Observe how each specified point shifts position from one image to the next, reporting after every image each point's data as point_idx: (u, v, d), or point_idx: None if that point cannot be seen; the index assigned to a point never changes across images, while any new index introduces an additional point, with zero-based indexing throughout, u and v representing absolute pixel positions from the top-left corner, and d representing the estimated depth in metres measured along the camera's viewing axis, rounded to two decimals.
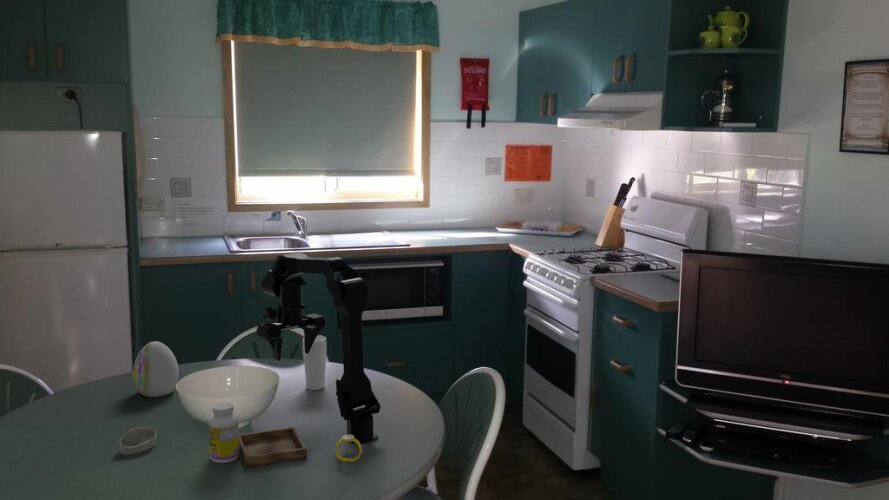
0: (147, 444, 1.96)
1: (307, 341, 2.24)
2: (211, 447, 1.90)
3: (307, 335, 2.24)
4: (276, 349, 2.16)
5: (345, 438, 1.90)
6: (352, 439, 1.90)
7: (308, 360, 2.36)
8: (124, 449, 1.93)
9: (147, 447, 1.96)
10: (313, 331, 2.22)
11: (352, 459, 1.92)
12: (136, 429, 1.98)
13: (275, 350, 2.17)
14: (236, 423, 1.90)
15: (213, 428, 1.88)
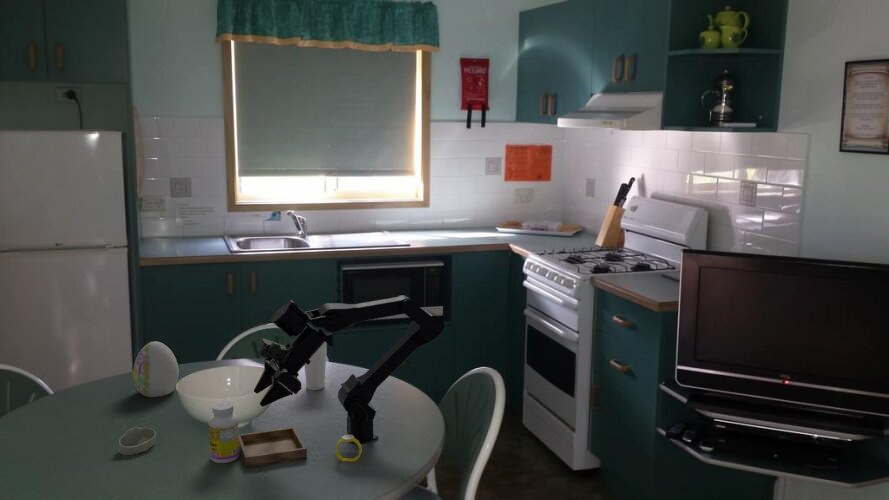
0: (147, 444, 1.96)
1: (265, 382, 1.98)
2: (211, 447, 1.90)
3: (268, 375, 1.99)
4: (276, 398, 1.89)
5: (345, 438, 1.90)
6: (352, 439, 1.90)
7: None
8: (124, 449, 1.93)
9: (147, 447, 1.96)
10: None
11: (352, 459, 1.92)
12: (135, 429, 1.98)
13: (272, 397, 1.89)
14: (236, 423, 1.90)
15: (213, 428, 1.88)
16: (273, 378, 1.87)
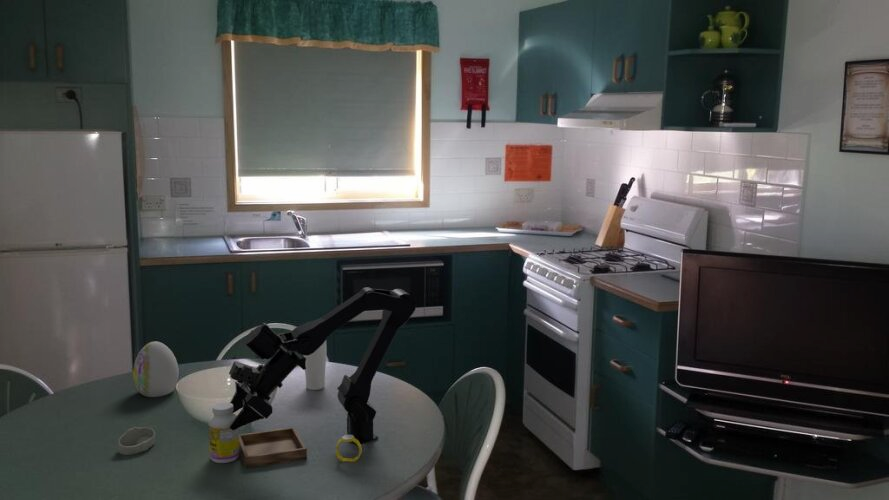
0: (146, 444, 1.96)
1: (237, 404, 1.96)
2: (211, 447, 1.90)
3: (239, 397, 1.97)
4: (246, 422, 1.87)
5: (345, 438, 1.90)
6: (352, 439, 1.90)
7: (308, 360, 2.36)
8: (123, 449, 1.94)
9: (146, 447, 1.96)
10: None
11: (352, 459, 1.92)
12: (135, 429, 1.98)
13: (242, 421, 1.87)
14: None
15: (213, 428, 1.88)
16: (244, 402, 1.85)
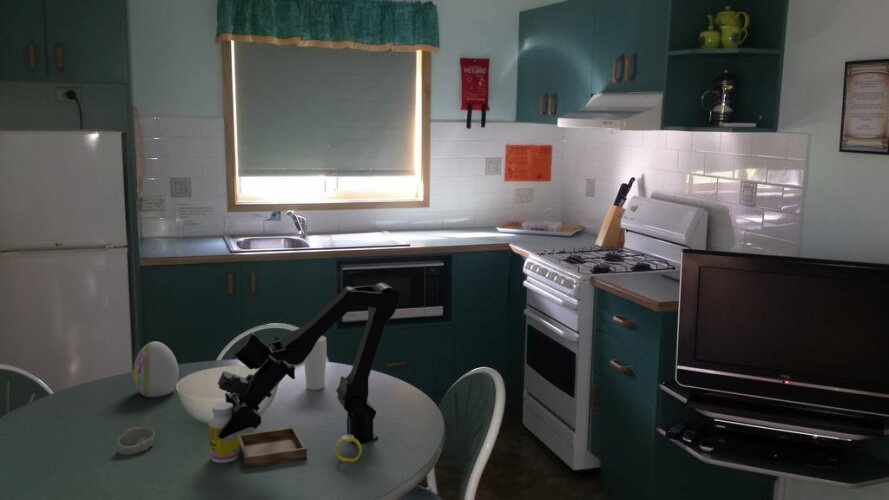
0: (146, 443, 1.96)
1: None
2: (211, 447, 1.90)
3: None
4: (234, 430, 1.88)
5: (345, 438, 1.90)
6: (352, 439, 1.90)
7: (308, 360, 2.36)
8: (123, 449, 1.94)
9: (146, 446, 1.97)
10: None
11: (352, 459, 1.92)
12: (134, 429, 1.98)
13: (231, 430, 1.87)
14: None
15: (213, 427, 1.88)
16: (232, 411, 1.85)
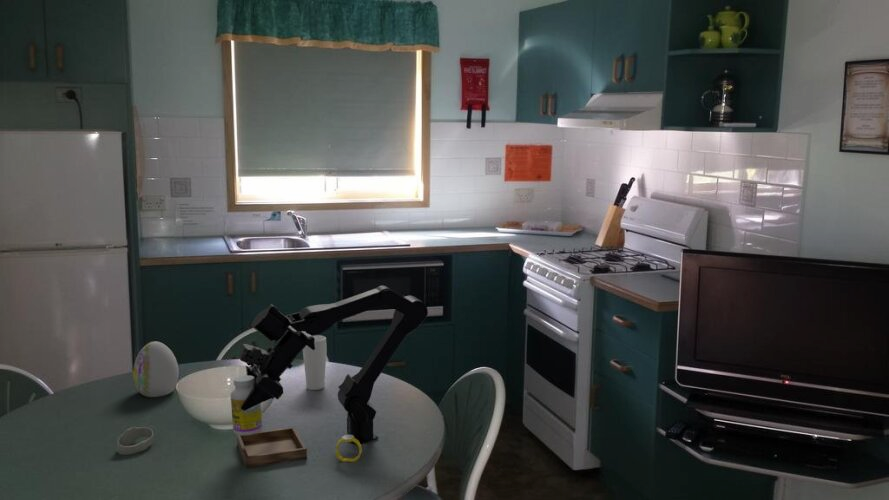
0: (145, 443, 1.96)
1: None
2: (234, 420, 1.90)
3: None
4: (257, 402, 1.88)
5: (345, 438, 1.90)
6: (352, 439, 1.90)
7: (308, 360, 2.36)
8: (122, 449, 1.94)
9: (145, 446, 1.97)
10: None
11: (352, 459, 1.92)
12: (133, 429, 1.98)
13: (253, 401, 1.88)
14: None
15: (235, 400, 1.89)
16: (254, 382, 1.86)
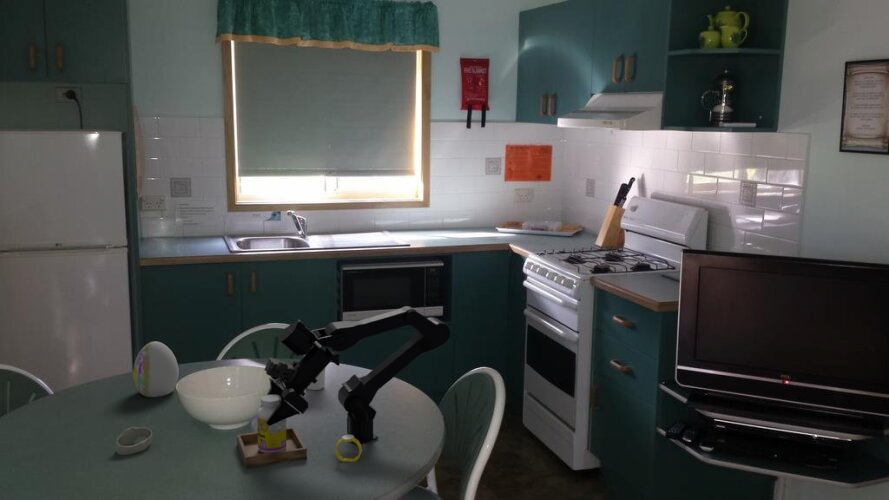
0: (144, 443, 1.96)
1: None
2: (259, 438, 1.93)
3: (274, 393, 1.99)
4: (283, 417, 1.90)
5: (345, 438, 1.90)
6: (352, 439, 1.90)
7: None
8: (122, 449, 1.94)
9: (144, 446, 1.97)
10: None
11: (352, 459, 1.92)
12: (132, 429, 1.98)
13: (279, 417, 1.90)
14: None
15: (262, 419, 1.92)
16: (280, 397, 1.88)
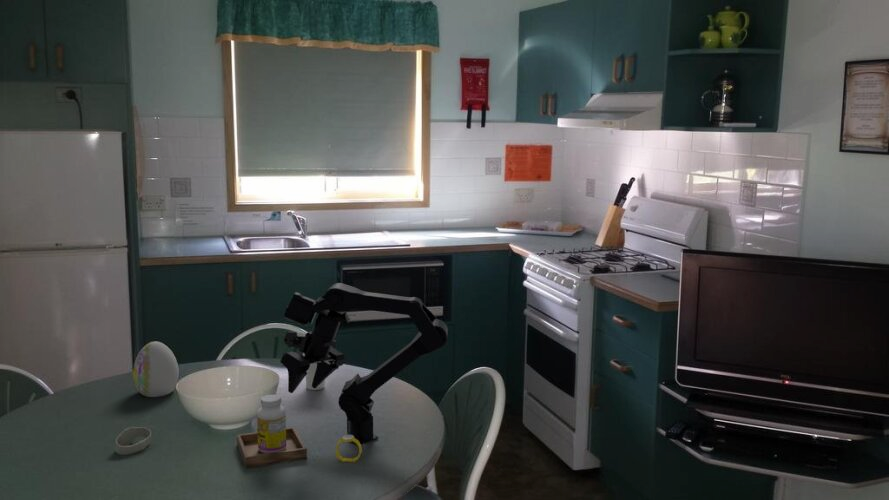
0: (144, 443, 1.97)
1: (319, 375, 2.06)
2: (259, 438, 1.93)
3: (320, 369, 2.06)
4: (295, 382, 1.96)
5: (345, 438, 1.90)
6: (352, 439, 1.90)
7: None
8: (121, 449, 1.94)
9: (143, 446, 1.97)
10: (331, 368, 2.05)
11: (352, 459, 1.92)
12: (131, 429, 1.98)
13: (293, 382, 1.97)
14: (284, 415, 1.94)
15: (262, 419, 1.92)
16: None
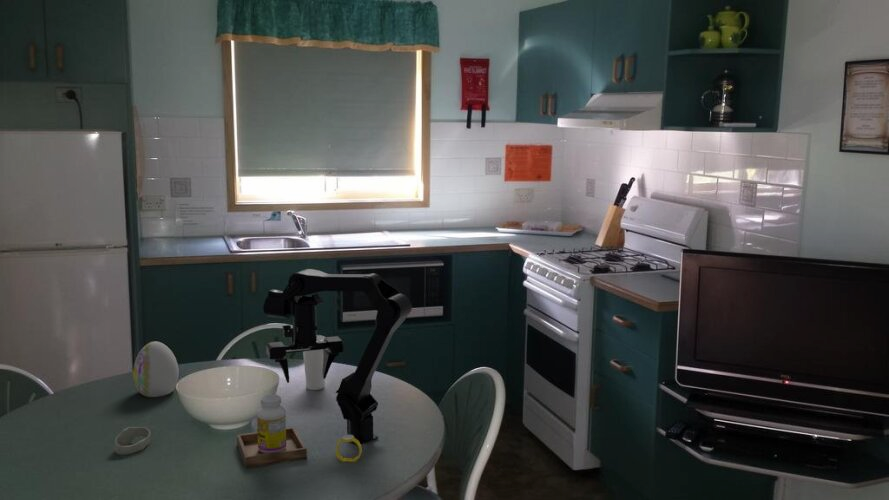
0: (143, 443, 1.97)
1: (324, 365, 2.09)
2: (259, 438, 1.93)
3: (325, 358, 2.09)
4: (283, 370, 2.04)
5: (345, 438, 1.90)
6: (352, 439, 1.90)
7: (308, 360, 2.36)
8: (121, 449, 1.94)
9: (143, 446, 1.97)
10: (328, 355, 2.06)
11: (352, 459, 1.92)
12: (130, 428, 1.99)
13: (283, 371, 2.05)
14: (284, 415, 1.94)
15: (262, 419, 1.92)
16: None
